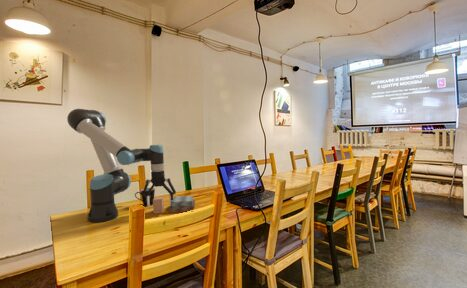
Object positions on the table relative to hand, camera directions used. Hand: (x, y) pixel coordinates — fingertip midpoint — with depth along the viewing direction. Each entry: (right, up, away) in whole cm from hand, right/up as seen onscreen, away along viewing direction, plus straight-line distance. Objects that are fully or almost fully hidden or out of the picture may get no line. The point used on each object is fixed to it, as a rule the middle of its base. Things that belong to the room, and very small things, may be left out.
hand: (159, 206), depth 146 cm
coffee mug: (-13, -3, +15) cm, 20 cm away
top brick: (-1, -3, 0) cm, 3 cm away
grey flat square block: (+13, -2, +6) cm, 14 cm away
